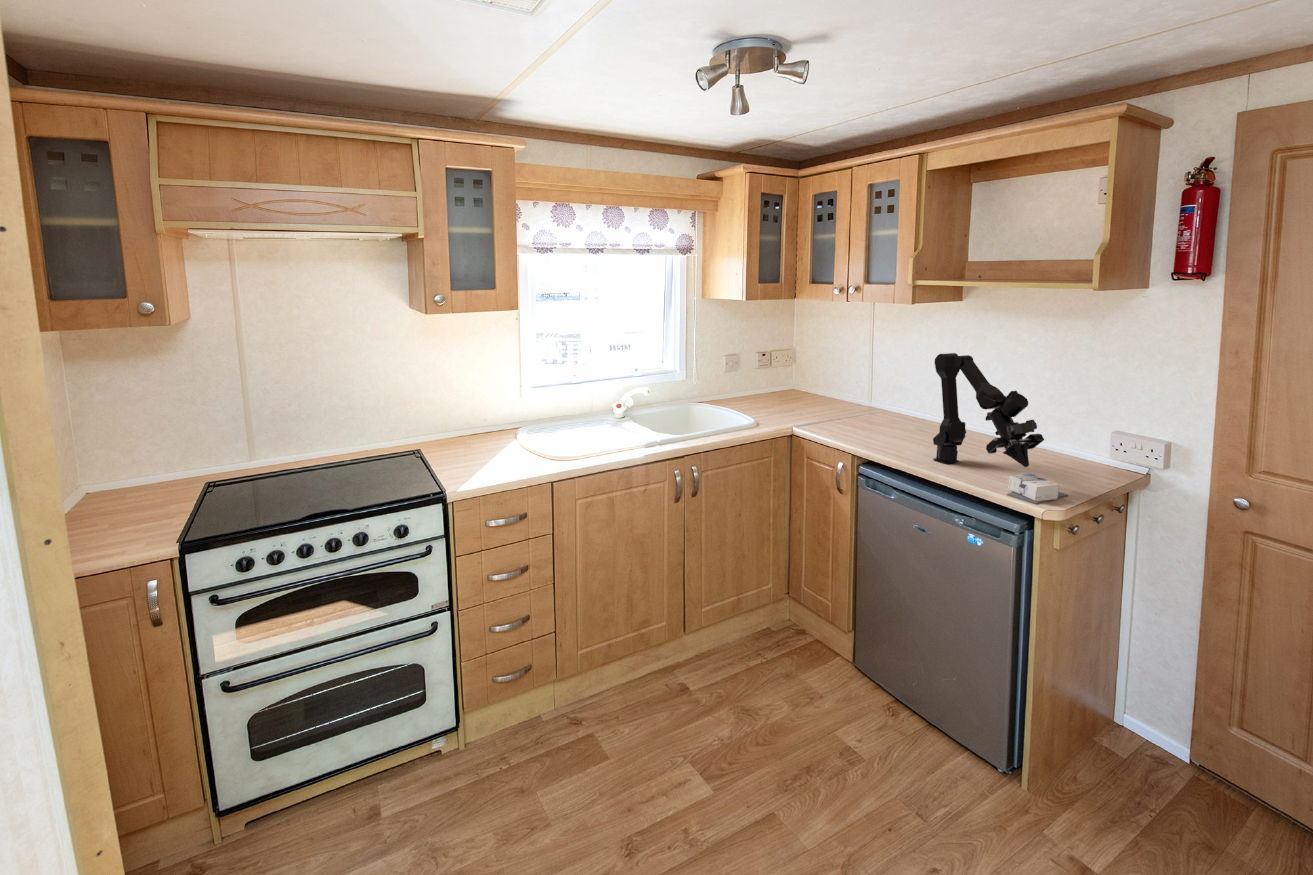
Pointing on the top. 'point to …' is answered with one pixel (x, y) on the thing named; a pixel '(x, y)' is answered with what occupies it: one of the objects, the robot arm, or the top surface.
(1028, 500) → the mat
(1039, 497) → the ink box
